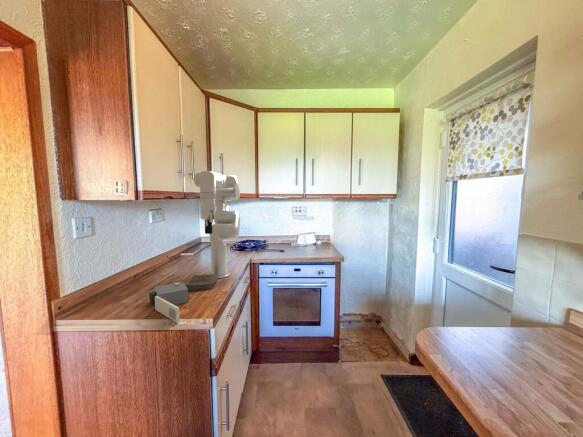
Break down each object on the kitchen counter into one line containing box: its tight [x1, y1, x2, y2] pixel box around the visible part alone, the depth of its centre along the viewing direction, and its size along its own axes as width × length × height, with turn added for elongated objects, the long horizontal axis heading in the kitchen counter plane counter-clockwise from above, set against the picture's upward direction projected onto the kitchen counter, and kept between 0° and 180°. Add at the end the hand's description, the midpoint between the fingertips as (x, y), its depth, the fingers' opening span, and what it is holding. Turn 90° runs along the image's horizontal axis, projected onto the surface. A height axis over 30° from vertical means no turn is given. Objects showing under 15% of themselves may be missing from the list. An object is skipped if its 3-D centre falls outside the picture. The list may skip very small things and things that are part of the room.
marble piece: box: [183, 273, 218, 292], centre depth 129 cm, size 17×15×4 cm
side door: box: [154, 296, 181, 324], centre depth 94 cm, size 1×18×6 cm, turn 52°
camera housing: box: [148, 281, 189, 306], centre depth 108 cm, size 12×14×7 cm
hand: (208, 233), depth 120 cm, fingers closed
